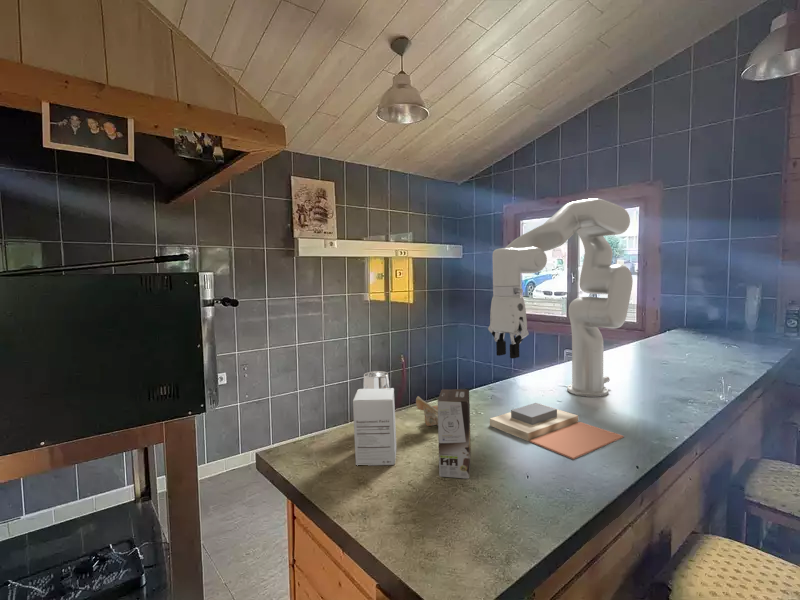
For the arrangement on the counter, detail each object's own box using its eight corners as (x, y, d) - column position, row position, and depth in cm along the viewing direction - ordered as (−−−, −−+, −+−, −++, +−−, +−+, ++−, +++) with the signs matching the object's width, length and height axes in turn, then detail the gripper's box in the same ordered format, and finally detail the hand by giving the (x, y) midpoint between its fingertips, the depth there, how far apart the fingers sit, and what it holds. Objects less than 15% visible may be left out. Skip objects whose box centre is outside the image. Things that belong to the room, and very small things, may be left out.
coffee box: (470, 479, 86) (468, 401, 85) (438, 477, 87) (436, 400, 86) (471, 459, 95) (470, 388, 93) (443, 457, 96) (441, 387, 95)
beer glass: (379, 421, 120) (377, 369, 119) (396, 427, 115) (394, 373, 114) (359, 428, 115) (357, 374, 114) (376, 435, 110) (374, 378, 109)
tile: (535, 409, 120) (535, 402, 119) (556, 416, 114) (556, 409, 114) (511, 417, 114) (511, 410, 114) (532, 424, 108) (531, 417, 108)
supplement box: (359, 449, 102) (357, 388, 101) (396, 448, 102) (394, 387, 101) (354, 466, 93) (351, 399, 92) (395, 465, 93) (392, 398, 92)
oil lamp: (406, 430, 113) (405, 393, 112) (452, 408, 129) (451, 376, 128) (432, 438, 107) (431, 399, 107) (477, 414, 123) (476, 381, 122)
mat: (579, 423, 114) (579, 421, 114) (623, 437, 104) (623, 435, 104) (529, 441, 103) (529, 440, 103) (573, 459, 93) (573, 457, 93)
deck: (538, 410, 125) (538, 403, 125) (578, 422, 114) (578, 415, 114) (489, 425, 114) (489, 418, 114) (528, 441, 103) (528, 433, 103)
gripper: (540, 292, 114) (540, 359, 115) (494, 290, 128) (495, 350, 129) (521, 294, 110) (522, 363, 111) (476, 292, 124) (477, 353, 125)
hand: (507, 355), depth 120 cm, fingers open, 4 cm apart
